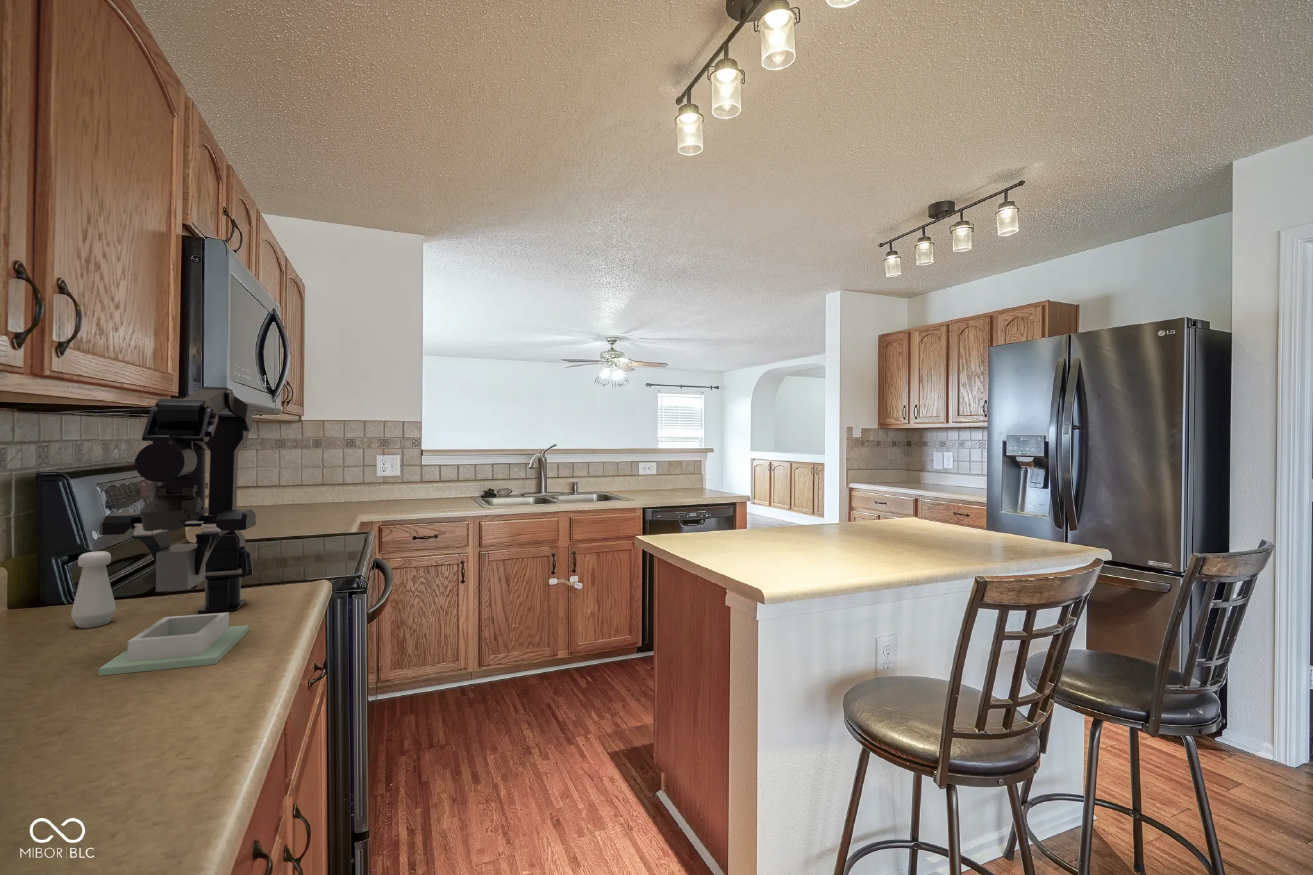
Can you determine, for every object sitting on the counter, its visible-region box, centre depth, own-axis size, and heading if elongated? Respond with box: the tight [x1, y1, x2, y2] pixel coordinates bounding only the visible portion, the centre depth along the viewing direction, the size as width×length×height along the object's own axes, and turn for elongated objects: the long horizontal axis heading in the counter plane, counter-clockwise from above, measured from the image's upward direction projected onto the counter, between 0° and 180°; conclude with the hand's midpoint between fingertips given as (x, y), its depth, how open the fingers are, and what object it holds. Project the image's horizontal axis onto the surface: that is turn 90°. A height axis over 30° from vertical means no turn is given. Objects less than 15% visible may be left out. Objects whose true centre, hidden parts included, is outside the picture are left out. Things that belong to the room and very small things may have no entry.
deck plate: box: [98, 611, 250, 677], centre depth 93 cm, size 16×14×4 cm
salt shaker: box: [70, 550, 117, 629], centre depth 105 cm, size 6×6×13 cm
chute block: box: [155, 543, 205, 593], centre depth 93 cm, size 7×4×6 cm, turn 20°
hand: (181, 575), depth 93 cm, fingers closed on chute block, 4 cm apart
